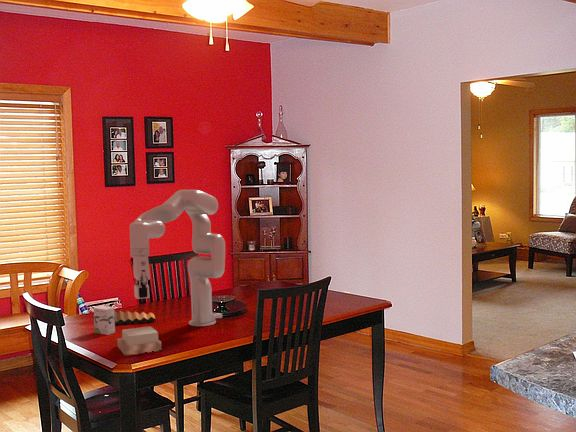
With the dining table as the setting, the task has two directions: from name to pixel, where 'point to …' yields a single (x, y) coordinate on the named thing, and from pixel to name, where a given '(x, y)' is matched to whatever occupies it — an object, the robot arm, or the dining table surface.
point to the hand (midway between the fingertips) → (141, 295)
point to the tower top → (140, 336)
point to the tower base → (138, 347)
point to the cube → (136, 291)
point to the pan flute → (132, 318)
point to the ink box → (104, 320)
